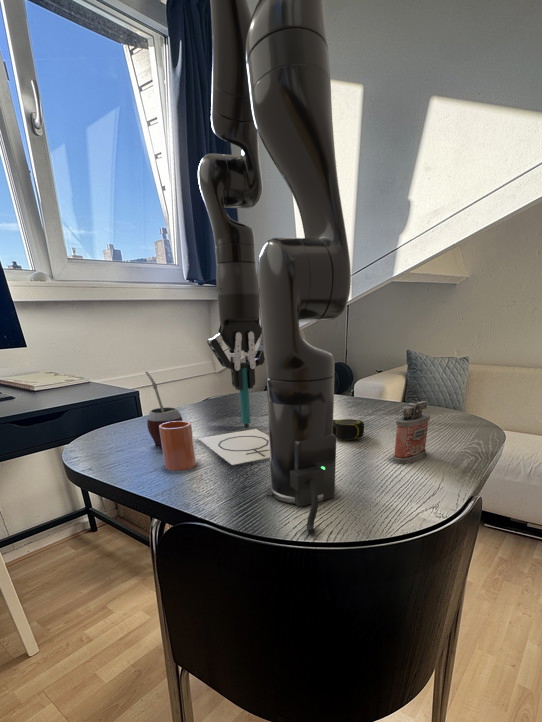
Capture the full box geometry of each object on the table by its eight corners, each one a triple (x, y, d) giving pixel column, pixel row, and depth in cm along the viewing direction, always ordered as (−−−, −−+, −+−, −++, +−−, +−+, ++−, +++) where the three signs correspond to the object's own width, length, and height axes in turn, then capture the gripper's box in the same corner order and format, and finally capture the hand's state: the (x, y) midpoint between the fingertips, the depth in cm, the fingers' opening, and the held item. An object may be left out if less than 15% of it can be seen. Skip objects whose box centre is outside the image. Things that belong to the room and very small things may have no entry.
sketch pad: (299, 453, 80) (299, 450, 79) (232, 467, 74) (231, 464, 73) (255, 430, 96) (255, 428, 95) (198, 440, 90) (197, 437, 90)
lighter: (404, 464, 72) (409, 408, 68) (388, 460, 75) (392, 405, 70) (429, 454, 77) (436, 400, 73) (414, 450, 79) (419, 398, 75)
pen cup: (199, 469, 73) (194, 425, 70) (170, 475, 71) (163, 430, 68) (191, 460, 78) (185, 419, 74) (162, 466, 76) (155, 423, 72)
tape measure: (361, 433, 91) (362, 417, 89) (365, 442, 85) (366, 425, 83) (330, 434, 91) (330, 417, 90) (332, 443, 85) (332, 425, 83)
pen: (252, 427, 85) (248, 362, 80) (244, 429, 84) (239, 363, 79) (248, 426, 87) (244, 361, 81) (240, 427, 86) (235, 362, 81)
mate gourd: (178, 454, 82) (167, 376, 75) (141, 453, 83) (128, 376, 77) (191, 443, 88) (182, 371, 82) (157, 442, 90) (146, 371, 83)
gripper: (209, 292, 69) (218, 395, 76) (280, 291, 75) (283, 387, 82) (195, 293, 75) (205, 390, 82) (262, 292, 81) (266, 382, 88)
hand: (244, 388), depth 82 cm, fingers closed on pen, 2 cm apart
